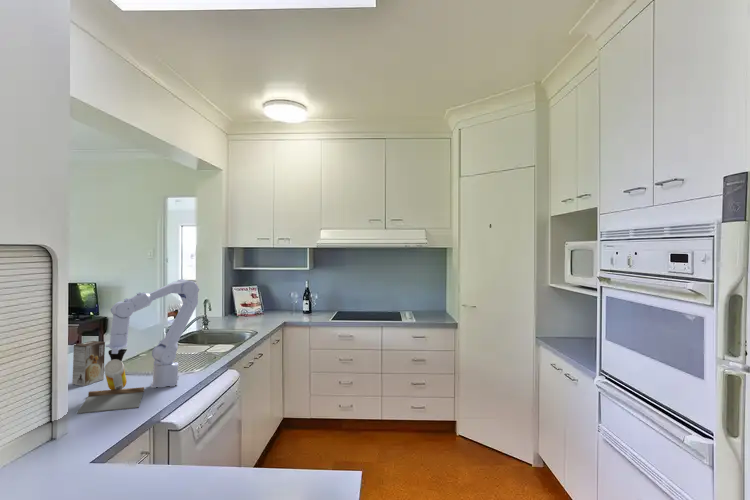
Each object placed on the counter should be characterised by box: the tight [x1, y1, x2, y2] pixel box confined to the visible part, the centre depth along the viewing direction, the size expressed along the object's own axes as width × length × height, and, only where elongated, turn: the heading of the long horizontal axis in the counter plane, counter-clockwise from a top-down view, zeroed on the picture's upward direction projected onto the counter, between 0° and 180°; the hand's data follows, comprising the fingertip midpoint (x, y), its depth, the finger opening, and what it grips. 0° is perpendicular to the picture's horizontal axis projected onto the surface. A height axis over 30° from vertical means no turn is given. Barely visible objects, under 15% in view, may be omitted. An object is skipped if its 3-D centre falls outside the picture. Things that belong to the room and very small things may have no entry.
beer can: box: [104, 359, 127, 390], centre depth 155 cm, size 6×6×15 cm
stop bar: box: [87, 386, 145, 397], centre depth 157 cm, size 18×1×2 cm, turn 114°
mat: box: [76, 391, 145, 415], centre depth 149 cm, size 18×17×1 cm
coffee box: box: [71, 340, 106, 387], centre depth 170 cm, size 9×6×16 cm
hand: (115, 369), depth 158 cm, fingers closed, pressing on beer can
